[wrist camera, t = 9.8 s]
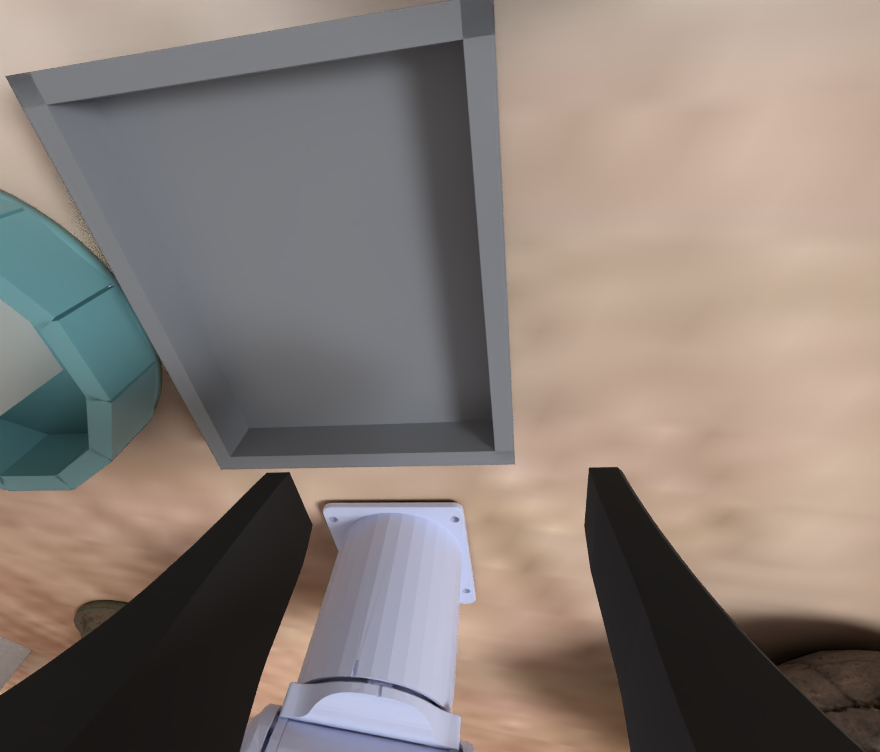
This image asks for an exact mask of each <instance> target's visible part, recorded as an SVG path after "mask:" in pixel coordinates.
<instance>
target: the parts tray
mask: <svg viewBox="0 0 880 752" xmlns="http://www.w3.org/2000/svg"><path fill="white" fill-rule="evenodd" d="M5 77H6V78H7V80H8V82H9V84H10V86H11V88H12V89H13V91H14V93H15V95H16V97H17V98H18V100H19V102H20V104H21V106H22V108H23V109H24V111H25V113H26V115H27V117H28V118H29V120H30V122H31V124H32V126H33V128H34V129H35V131H36V133H37V135H38V137H39V139H40V140H41V142H42V144H43V146H44V148H45V149H46V151H47V153H48V155H49V157H50V159H51V160H52V162H53V164H54V166H55V168H56V169H57V171H58V173H59V175H60V177H61V179H62V180H63V182H64V184H65V186H66V188H67V190H68V191H69V193H70V195H71V197H72V199H73V200H74V202H75V204H76V206H77V208H78V210H79V211H80V213H81V215H82V217H83V219H84V221H85V222H86V224H87V226H88V228H89V230H90V231H91V233H92V235H93V237H94V239H95V241H96V242H97V244H98V246H99V248H100V250H101V251H102V253H103V255H104V257H105V259H106V261H107V262H108V264H109V266H110V268H111V270H112V272H113V273H114V275H115V277H116V279H117V281H118V282H119V284H120V286H121V288H122V290H123V292H124V293H125V295H126V297H127V299H128V301H129V302H130V304H131V306H132V308H133V310H134V312H135V313H136V315H137V317H138V319H139V321H140V323H141V324H142V326H143V328H144V330H145V332H146V333H147V335H148V337H149V339H150V341H151V343H152V344H153V346H154V348H155V350H156V352H157V353H158V355H159V357H160V359H161V361H162V363H163V364H164V366H165V368H166V370H167V372H168V374H169V375H170V377H171V379H172V381H173V383H174V384H175V386H176V388H177V390H178V392H179V394H180V395H181V397H182V399H183V401H184V403H185V404H186V406H187V408H188V410H189V412H190V414H191V415H192V417H193V419H194V421H195V423H196V425H197V426H198V428H199V430H200V432H201V434H202V435H203V437H204V439H205V441H206V443H207V445H208V446H209V448H210V450H211V452H212V454H213V455H214V457H215V459H216V461H217V463H218V465H219V466H220V468H221V469H276V468H334V467H392V466H450V465H508V464H515V456H514V434H513V413H512V391H511V370H510V348H509V326H508V305H507V283H506V262H505V240H504V218H503V197H502V175H501V154H500V132H499V111H498V89H497V67H496V46H495V24H494V3H493V0H450V1H444V2H438V3H432V4H426V5H420V6H414V7H409V8H403V9H397V10H391V11H385V12H379V13H373V14H367V15H362V16H356V17H350V18H344V19H338V20H332V21H326V22H321V23H315V24H309V25H303V26H297V27H291V28H285V29H280V30H274V31H268V32H262V33H256V34H250V35H244V36H238V37H233V38H227V39H221V40H215V41H209V42H203V43H197V44H192V45H186V46H180V47H174V48H168V49H162V50H156V51H151V52H145V53H139V54H133V55H127V56H121V57H115V58H110V59H104V60H98V61H92V62H86V63H80V64H74V65H68V66H63V67H57V68H51V69H45V70H39V71H33V72H27V73H22V74H16V75H10V76H5Z"/></svg>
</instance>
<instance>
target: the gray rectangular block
mask: <svg viewBox="0 0 880 752" xmlns="http://www.w3.org/2000/svg"><path fill="white" fill-rule="evenodd" d="M62 370H63V369H62V367H61V366H60V364H59V363H58V361H57V360H56V358H55V357H54V356H53V354H52V353H51V351H50V350H49V348H48V347H47V346H46V344H45V343H44V341H43V340H42V338H41V337H40V336H39V334H38V333H37V331H36V330H35V328H34V327H33V325H32V324H31V323H30V321H28V320H27V319H26V318H24V317H23V316H22V315H21V314H19V313H18V312H17V311H15V310H14V309H13V308H11V307H10V306H9V305H7V304H6V303H5V302H3V301H2V300H1V299H0V416H1V415H2V414H4V413H5V412H6V411H8V410H9V409H10V408H12V407H13V406H14V405H16V404H17V403H19V402H20V401H21V400H23V399H24V398H25V397H27V396H28V395H30V394H31V393H32V392H34V391H35V390H36V389H38V388H39V387H40V386H42V385H43V384H45V383H46V382H47V381H49V380H50V379H51V378H53V377H54V376H55V375H57V374H58V373H60V372H61V371H62Z"/></svg>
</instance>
